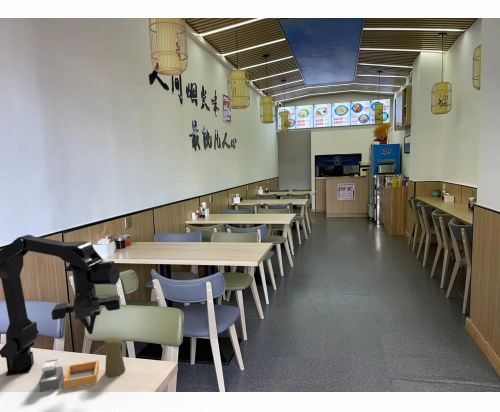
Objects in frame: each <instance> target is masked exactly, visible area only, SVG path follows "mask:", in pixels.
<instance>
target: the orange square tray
mask: <svg viewBox="0 0 500 412" xmlns="http://www.w3.org/2000/svg"><path fill="white" fill-rule="evenodd" d="M99 370H100V362H99V360H92V361H87V362H86V361H85V362H81V363H75V364H68V366H67V369H66V372H65V375H64V378H63V388H64V390H66V389H72V388H77V387H83V386H89V385H93V384H97V382H98V378H99V373H100V371H99Z"/></svg>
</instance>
